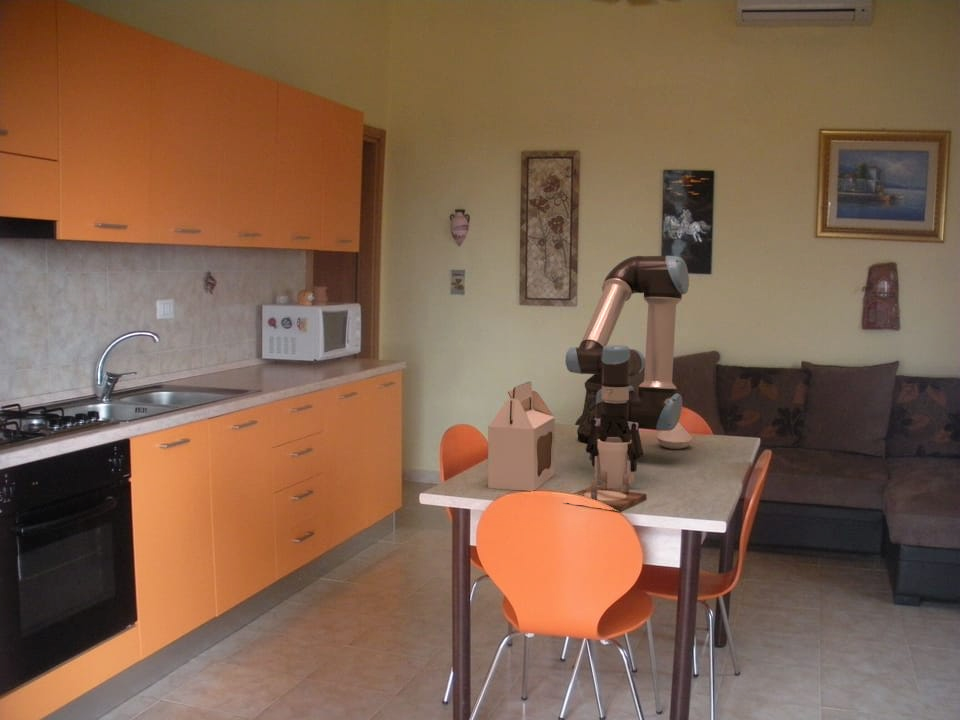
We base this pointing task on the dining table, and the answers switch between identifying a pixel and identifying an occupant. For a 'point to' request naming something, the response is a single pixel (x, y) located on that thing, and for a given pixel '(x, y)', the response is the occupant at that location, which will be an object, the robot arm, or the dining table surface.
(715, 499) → the dining table surface
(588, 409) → the black backpack
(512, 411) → the gable box
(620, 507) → the pin board
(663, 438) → the spoon rest
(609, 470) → the foam cup
